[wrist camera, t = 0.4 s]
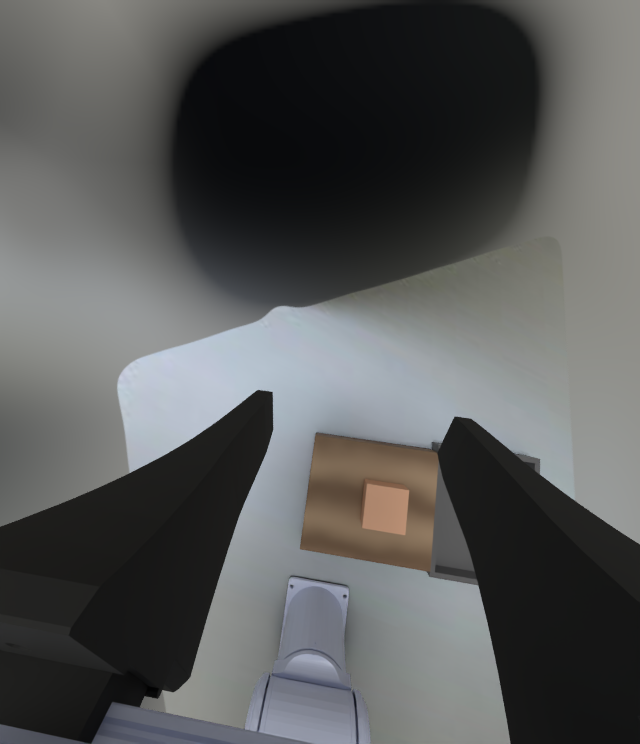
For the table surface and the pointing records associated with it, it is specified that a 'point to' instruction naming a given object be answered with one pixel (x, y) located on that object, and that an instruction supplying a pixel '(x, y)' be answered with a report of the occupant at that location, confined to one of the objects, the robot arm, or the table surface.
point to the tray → (454, 534)
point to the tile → (384, 507)
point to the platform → (345, 493)
